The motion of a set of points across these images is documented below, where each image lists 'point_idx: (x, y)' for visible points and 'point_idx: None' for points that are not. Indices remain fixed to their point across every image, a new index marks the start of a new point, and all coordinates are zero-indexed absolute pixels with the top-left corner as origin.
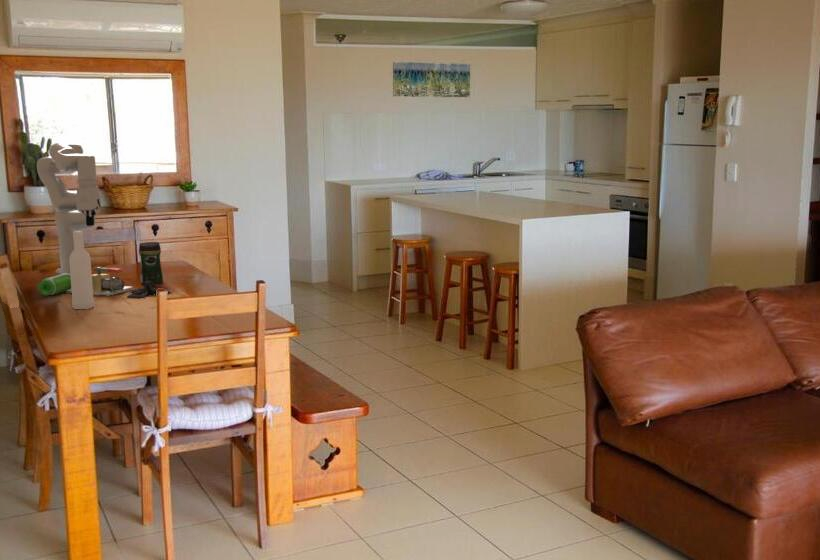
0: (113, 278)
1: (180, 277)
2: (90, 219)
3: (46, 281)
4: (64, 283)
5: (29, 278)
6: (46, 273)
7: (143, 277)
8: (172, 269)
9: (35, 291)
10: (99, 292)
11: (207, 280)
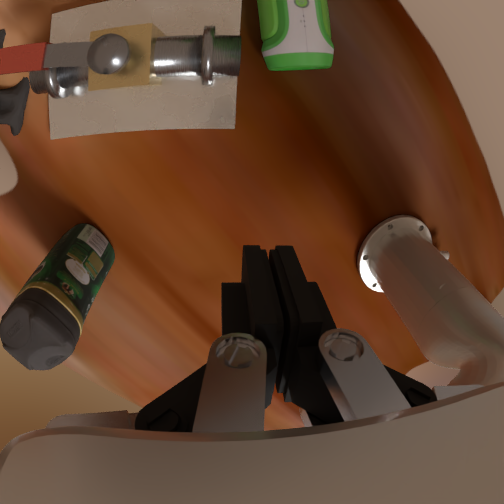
0: None
1: (87, 338)
2: (244, 315)
3: None
4: None
5: (488, 215)
6: (472, 283)
7: (75, 231)
8: None
9: (375, 11)
10: (90, 7)
11: None
